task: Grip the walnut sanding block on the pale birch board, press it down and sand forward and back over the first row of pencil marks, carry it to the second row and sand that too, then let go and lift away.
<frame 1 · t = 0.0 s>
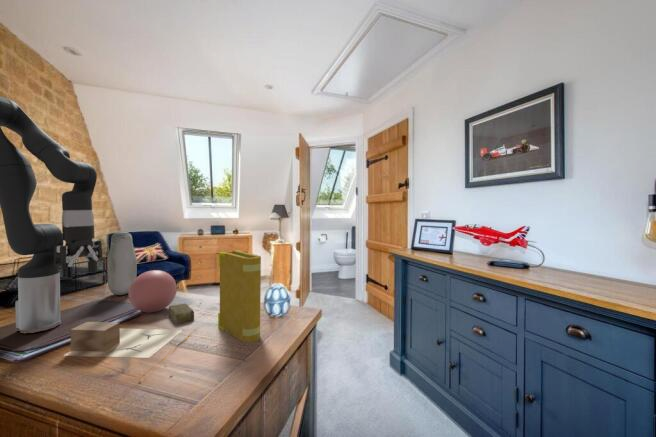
hand: (81, 275, 89), 17 cm above the table, tool pointing down, fingers open, 8 cm apart
book: (240, 332, 89), on the table
sanding block: (96, 348, 75), point 1 cm above the table, touching birch board
grey vase: (122, 294, 124), on the table
stone block: (181, 322, 97), on the table
birch board: (129, 346, 79), on the table
pink egg: (151, 310, 107), on the table
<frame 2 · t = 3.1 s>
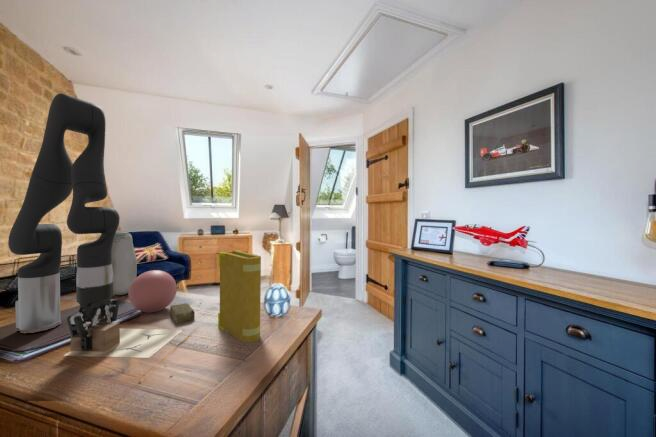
hand: (96, 344, 75), 2 cm above the table, tool pointing down, fingers closed on sanding block, 5 cm apart
sanding block: (96, 348, 75), point 1 cm above the table, touching birch board, gripper
everything else where it was.
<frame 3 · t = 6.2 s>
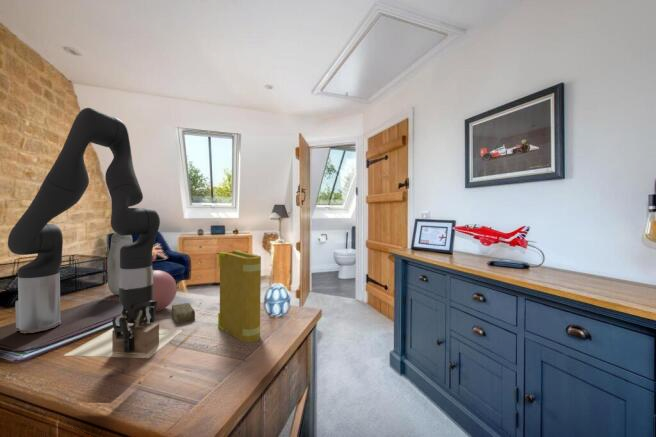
hand: (136, 346, 75), 2 cm above the table, tool pointing down, fingers closed on sanding block, 5 cm apart
sanding block: (136, 349, 75), point 2 cm above the table, touching birch board, gripper
everything else where it was.
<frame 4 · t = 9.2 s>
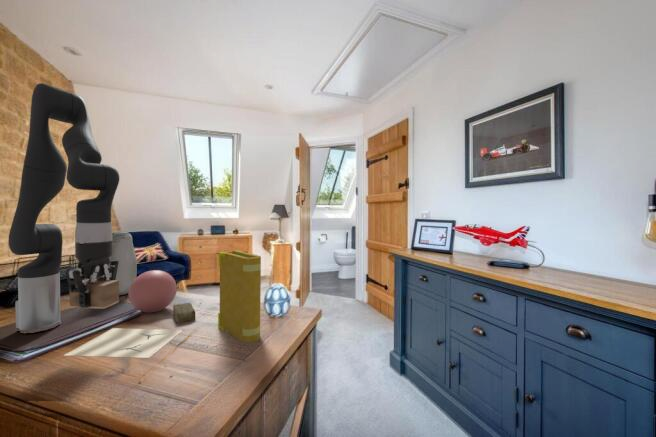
hand: (94, 302, 74), 14 cm above the table, tool pointing down, fingers closed on sanding block, 5 cm apart
sanding block: (95, 304, 74), point 13 cm above the table, touching gripper
everything else where it was.
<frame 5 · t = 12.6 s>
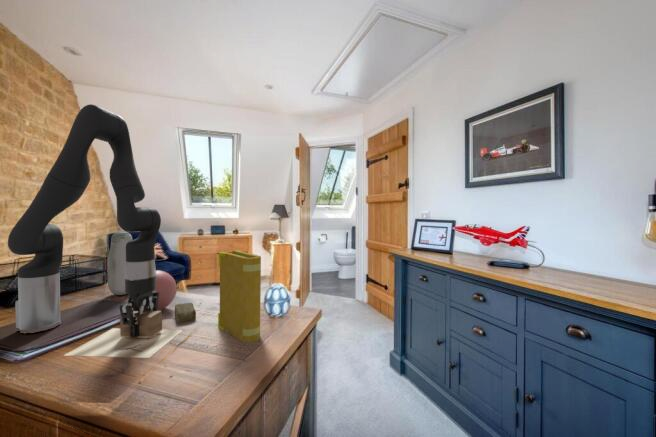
hand: (141, 332, 83), 2 cm above the table, tool pointing down, fingers closed on sanding block, 5 cm apart
sanding block: (141, 333, 83), point 2 cm above the table, touching gripper
when the fingers open (2 cm above the table, at t = 15.7 s): sanding block stays where it is, resting on birch board.
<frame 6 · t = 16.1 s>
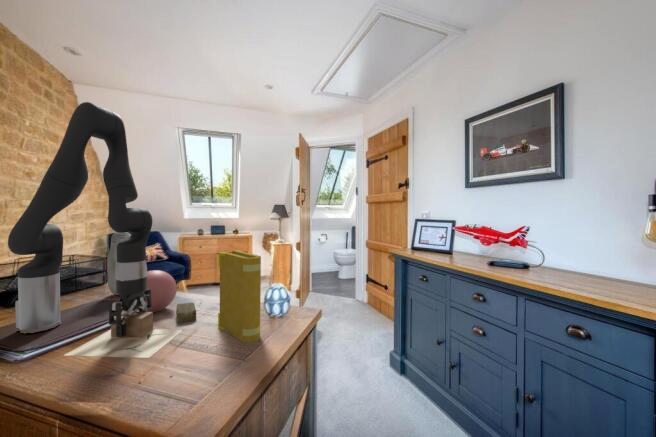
hand: (132, 330, 83), 3 cm above the table, tool pointing down, fingers open, 8 cm apart
sanding block: (132, 334, 83), point 2 cm above the table, touching birch board
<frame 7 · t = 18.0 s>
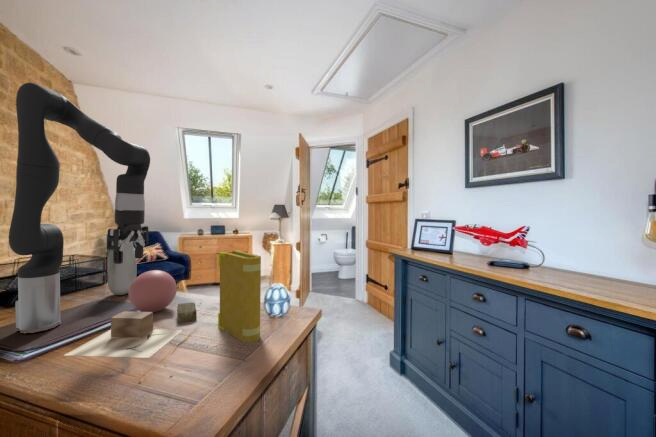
hand: (129, 260, 87), 23 cm above the table, tool pointing down, fingers open, 8 cm apart
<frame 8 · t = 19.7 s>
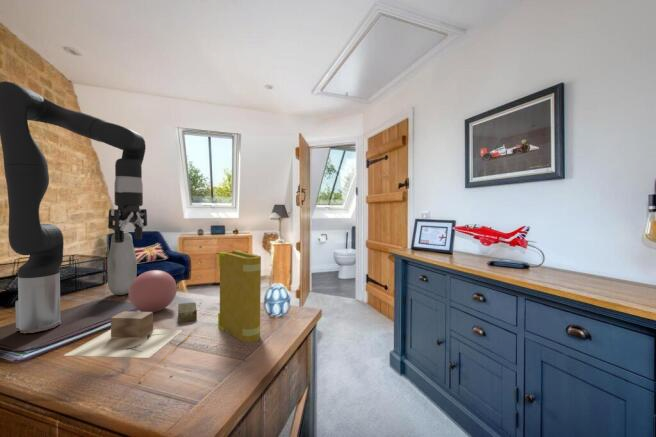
hand: (129, 240, 92), 28 cm above the table, tool pointing down, fingers open, 8 cm apart
at the end: sanding block 0.1 cm from the target spot on the birch board, point 1.5 cm above the birch board's base; sanding block tilted 0°; the gripper is holding nothing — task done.
